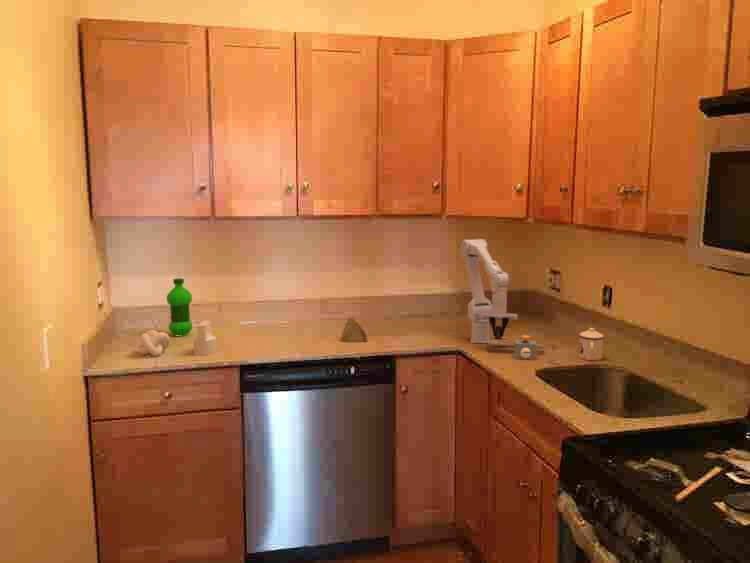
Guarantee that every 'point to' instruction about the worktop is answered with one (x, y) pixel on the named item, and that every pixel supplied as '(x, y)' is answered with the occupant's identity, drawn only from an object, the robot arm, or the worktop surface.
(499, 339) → the carriage
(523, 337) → the button
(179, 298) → the plastic bottle
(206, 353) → the cylinder with rectangular tab
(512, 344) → the guide rail
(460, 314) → the worktop surface
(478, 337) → the robot arm
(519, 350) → the gauge box
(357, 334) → the rock
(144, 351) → the beige knot
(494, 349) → the board
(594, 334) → the teacup with lid
